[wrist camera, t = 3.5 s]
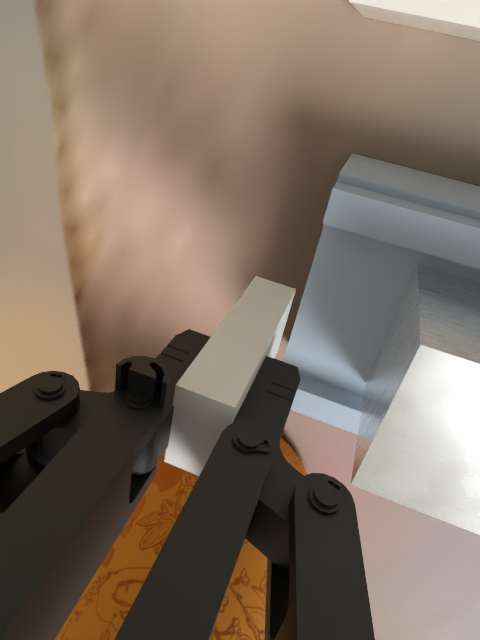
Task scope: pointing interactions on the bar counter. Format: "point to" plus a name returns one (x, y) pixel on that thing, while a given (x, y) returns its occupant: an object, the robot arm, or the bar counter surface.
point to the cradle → (427, 15)
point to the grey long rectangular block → (426, 403)
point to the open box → (373, 275)
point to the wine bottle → (140, 554)
